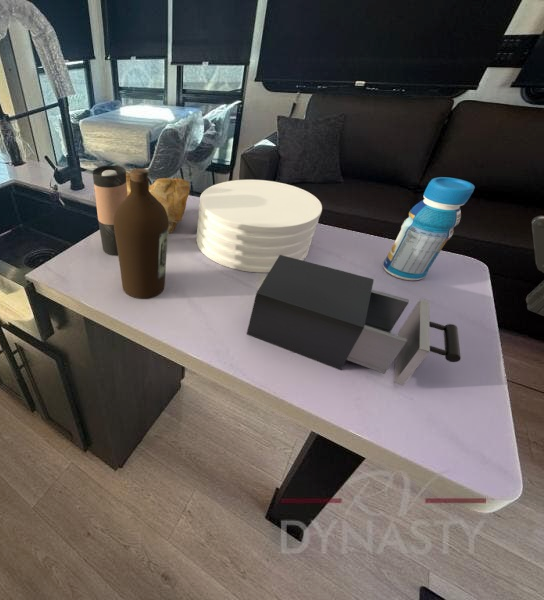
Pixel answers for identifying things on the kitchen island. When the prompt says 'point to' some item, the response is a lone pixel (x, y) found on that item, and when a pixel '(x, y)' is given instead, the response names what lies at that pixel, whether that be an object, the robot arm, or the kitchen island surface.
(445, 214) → the beverage bottle
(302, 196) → the plate stack
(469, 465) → the kitchen island surface
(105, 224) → the travel mug
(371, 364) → the drawer
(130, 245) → the olive oil
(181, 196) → the crumpled paper bag
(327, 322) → the cabinet
